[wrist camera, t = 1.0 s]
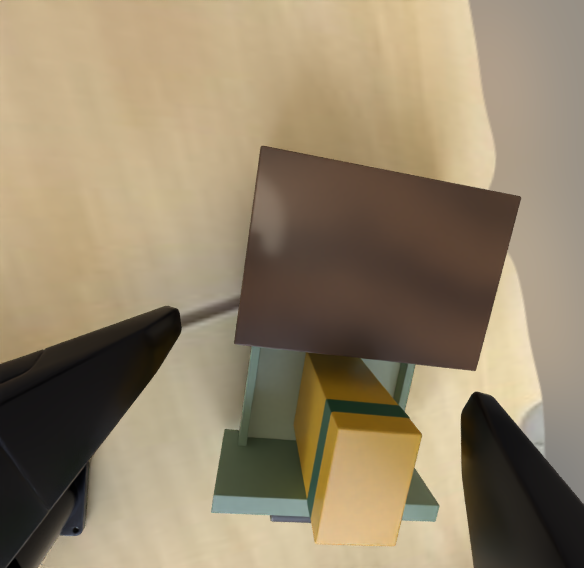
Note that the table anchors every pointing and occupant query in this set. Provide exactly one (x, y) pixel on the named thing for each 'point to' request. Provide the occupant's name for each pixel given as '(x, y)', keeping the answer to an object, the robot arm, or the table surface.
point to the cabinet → (370, 262)
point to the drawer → (290, 442)
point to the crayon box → (352, 452)
